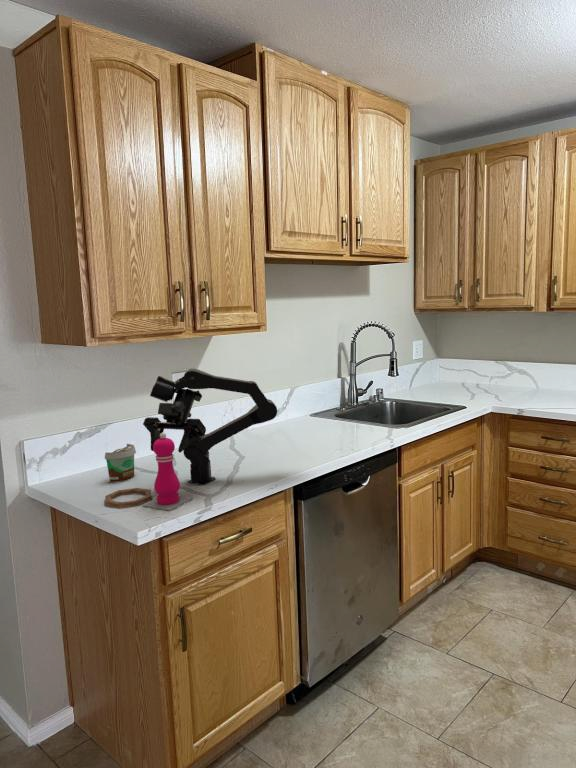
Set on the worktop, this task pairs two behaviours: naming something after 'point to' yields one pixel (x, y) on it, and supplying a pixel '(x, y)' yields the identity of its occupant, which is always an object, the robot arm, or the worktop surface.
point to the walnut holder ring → (128, 503)
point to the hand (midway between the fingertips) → (165, 451)
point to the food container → (121, 463)
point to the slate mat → (167, 507)
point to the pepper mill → (165, 472)
